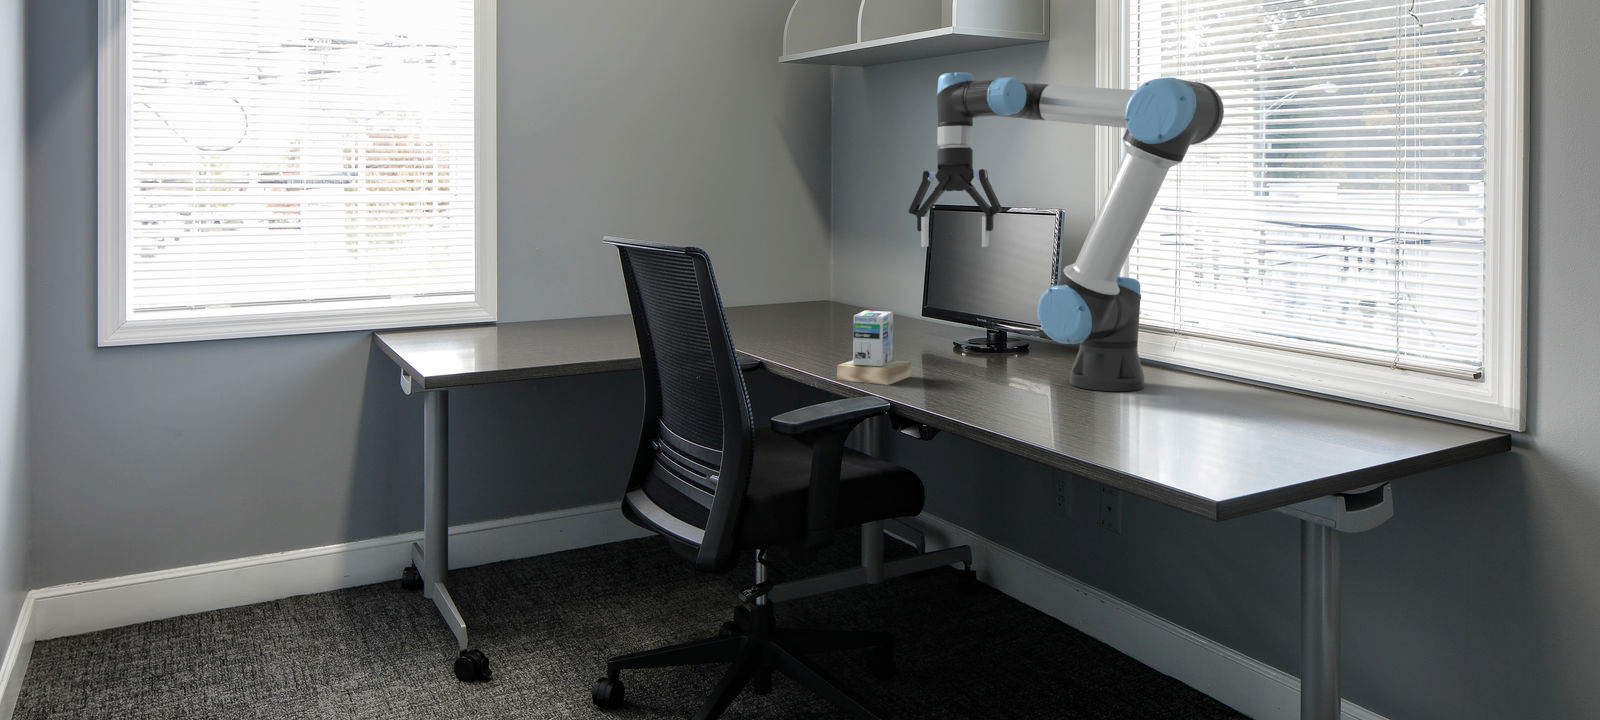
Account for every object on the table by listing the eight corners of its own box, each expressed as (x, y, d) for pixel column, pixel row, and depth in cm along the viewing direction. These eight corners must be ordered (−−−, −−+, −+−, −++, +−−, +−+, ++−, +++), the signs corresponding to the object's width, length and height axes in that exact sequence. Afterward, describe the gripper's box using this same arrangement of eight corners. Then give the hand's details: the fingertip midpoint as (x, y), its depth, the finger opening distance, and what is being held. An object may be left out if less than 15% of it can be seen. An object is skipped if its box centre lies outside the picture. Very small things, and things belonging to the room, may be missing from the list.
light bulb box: (882, 367, 236) (883, 316, 234) (851, 365, 238) (852, 315, 236) (893, 359, 246) (894, 310, 244) (863, 358, 248) (864, 309, 246)
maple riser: (910, 376, 245) (910, 361, 244) (888, 384, 234) (888, 368, 234) (860, 371, 251) (861, 356, 250) (837, 379, 240) (837, 364, 240)
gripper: (1016, 145, 238) (1015, 246, 241) (906, 150, 249) (906, 246, 251) (1007, 144, 231) (1006, 247, 234) (894, 148, 242) (894, 247, 245)
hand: (954, 246), depth 243 cm, fingers open, 13 cm apart
